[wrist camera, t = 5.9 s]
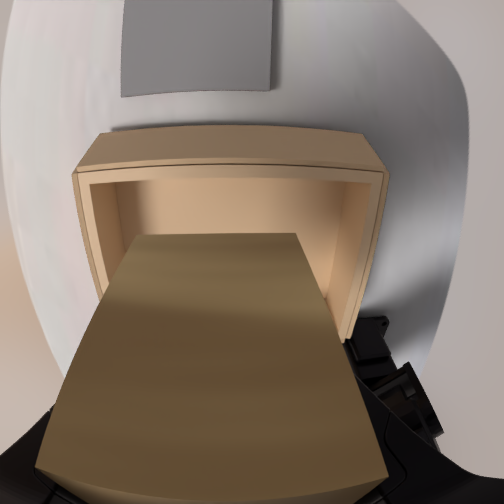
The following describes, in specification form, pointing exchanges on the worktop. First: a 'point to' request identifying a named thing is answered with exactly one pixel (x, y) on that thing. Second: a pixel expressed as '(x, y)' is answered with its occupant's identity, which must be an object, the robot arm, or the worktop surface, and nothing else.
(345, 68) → the worktop surface
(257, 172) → the carton
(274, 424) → the block
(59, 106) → the worktop surface
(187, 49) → the mat
